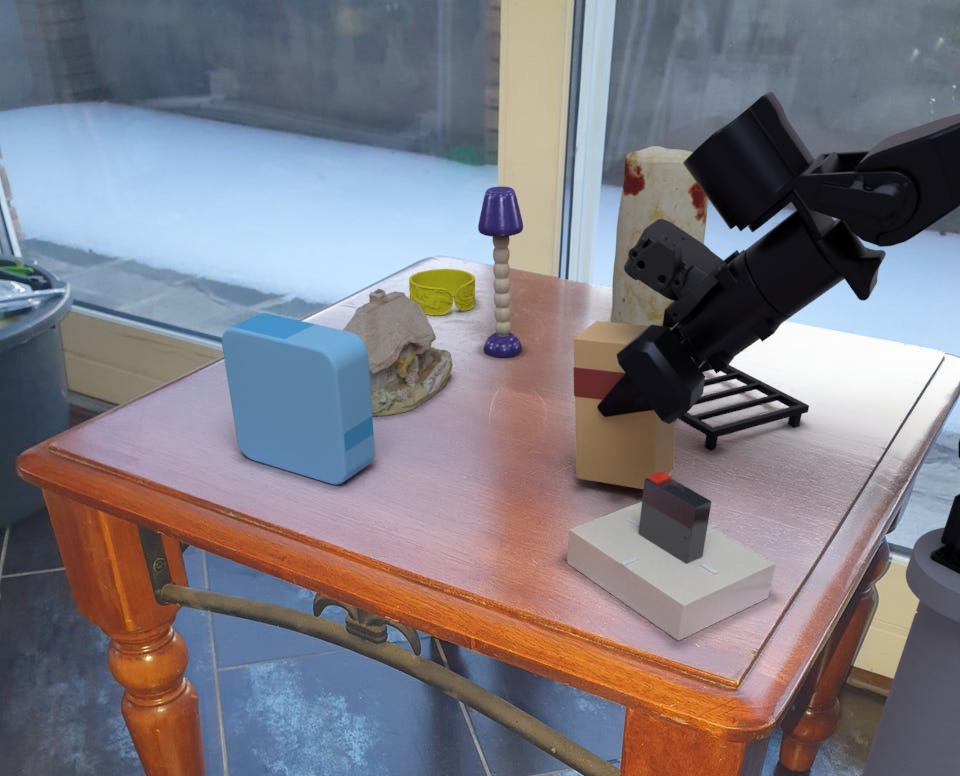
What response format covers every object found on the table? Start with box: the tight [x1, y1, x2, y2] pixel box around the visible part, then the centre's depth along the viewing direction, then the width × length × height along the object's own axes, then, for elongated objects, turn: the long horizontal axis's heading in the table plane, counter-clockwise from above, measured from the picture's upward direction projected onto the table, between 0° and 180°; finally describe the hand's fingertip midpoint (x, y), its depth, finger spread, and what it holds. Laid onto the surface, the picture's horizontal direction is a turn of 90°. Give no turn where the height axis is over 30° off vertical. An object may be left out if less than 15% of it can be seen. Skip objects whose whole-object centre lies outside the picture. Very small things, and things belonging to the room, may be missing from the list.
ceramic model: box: [342, 288, 454, 417], centre depth 98 cm, size 14×11×10 cm
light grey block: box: [566, 501, 776, 642], centre depth 73 cm, size 12×9×3 cm
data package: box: [221, 312, 376, 486], centre depth 85 cm, size 12×4×12 cm, turn 60°
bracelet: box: [408, 268, 476, 316], centre depth 121 cm, size 7×8×3 cm
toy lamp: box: [477, 186, 524, 358], centre depth 105 cm, size 5×5×17 cm
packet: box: [573, 320, 676, 490], centre depth 81 cm, size 5×7×12 cm, turn 61°
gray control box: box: [639, 472, 713, 563], centre depth 70 cm, size 5×2×5 cm, turn 35°
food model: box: [609, 145, 709, 326], centre depth 107 cm, size 10×7×20 cm
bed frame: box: [677, 364, 810, 452], centre depth 98 cm, size 19×12×2 cm, turn 29°
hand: (611, 400), depth 81 cm, fingers closed on packet, 4 cm apart
